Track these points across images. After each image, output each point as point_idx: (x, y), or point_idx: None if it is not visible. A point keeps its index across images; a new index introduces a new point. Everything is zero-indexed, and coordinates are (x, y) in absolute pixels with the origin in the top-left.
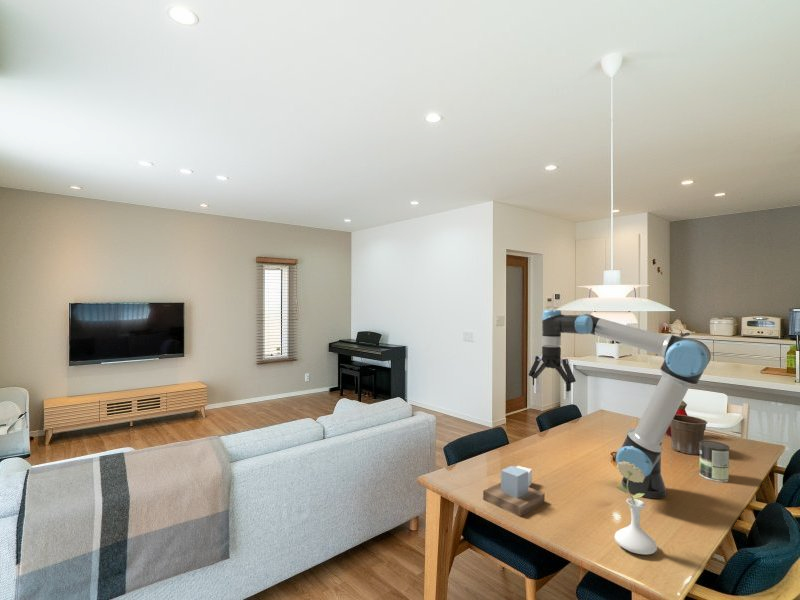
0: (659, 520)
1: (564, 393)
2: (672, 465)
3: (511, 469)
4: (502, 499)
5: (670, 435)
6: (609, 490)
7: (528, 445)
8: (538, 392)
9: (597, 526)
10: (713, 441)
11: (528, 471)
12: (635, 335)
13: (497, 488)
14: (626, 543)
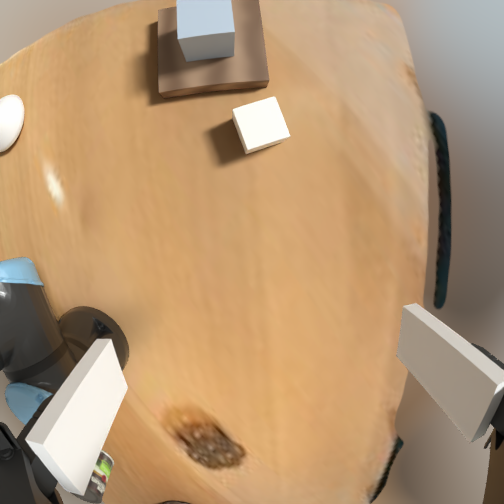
0: (19, 241)
1: (84, 368)
2: (149, 463)
3: (216, 13)
4: None
5: None
6: (118, 284)
7: (390, 351)
8: (399, 349)
9: (56, 118)
10: (93, 502)
11: (242, 126)
12: None
13: (246, 24)
14: (4, 97)
